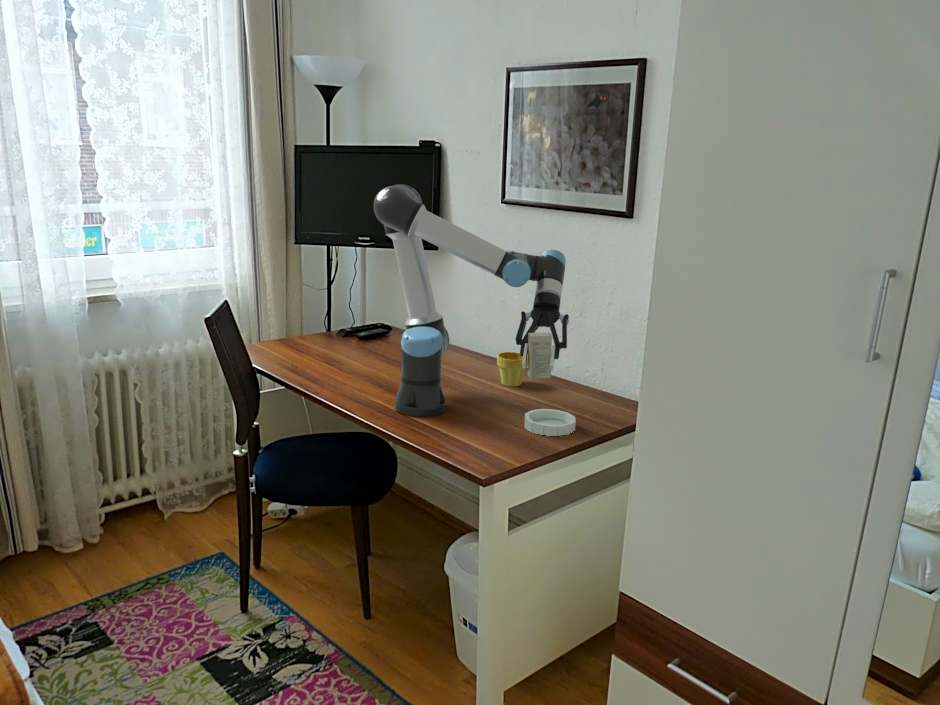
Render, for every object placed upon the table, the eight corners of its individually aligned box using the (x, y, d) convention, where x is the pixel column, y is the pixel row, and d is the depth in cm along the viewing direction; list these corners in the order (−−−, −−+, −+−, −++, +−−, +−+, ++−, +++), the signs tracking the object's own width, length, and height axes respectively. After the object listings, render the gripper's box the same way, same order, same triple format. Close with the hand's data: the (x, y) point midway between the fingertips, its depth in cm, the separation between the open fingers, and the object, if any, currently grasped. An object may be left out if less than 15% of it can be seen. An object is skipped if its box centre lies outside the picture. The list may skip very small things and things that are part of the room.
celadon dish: (540, 439, 197) (541, 428, 196) (515, 422, 209) (515, 412, 209) (584, 432, 203) (585, 422, 203) (557, 416, 215) (557, 406, 215)
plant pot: (524, 389, 239) (526, 360, 237) (493, 386, 241) (494, 357, 239) (528, 381, 249) (530, 353, 247) (498, 378, 251) (500, 350, 249)
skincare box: (548, 374, 208) (550, 332, 205) (551, 378, 204) (553, 335, 201) (526, 374, 208) (527, 331, 205) (528, 378, 203) (529, 335, 200)
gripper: (582, 307, 214) (574, 376, 202) (515, 303, 218) (503, 370, 207) (582, 292, 207) (573, 363, 196) (512, 288, 211) (500, 357, 200)
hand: (537, 367), depth 201 cm, fingers closed on skincare box, 7 cm apart
